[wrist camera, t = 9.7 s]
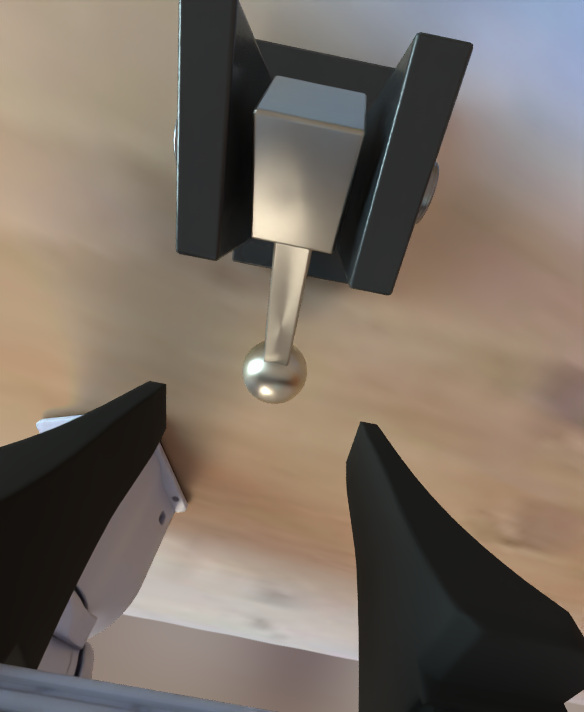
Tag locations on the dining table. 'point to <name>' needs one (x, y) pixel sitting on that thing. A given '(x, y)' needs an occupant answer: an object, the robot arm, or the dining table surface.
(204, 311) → the dining table surface
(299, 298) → the tap lever
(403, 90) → the dark grey lever bracket
